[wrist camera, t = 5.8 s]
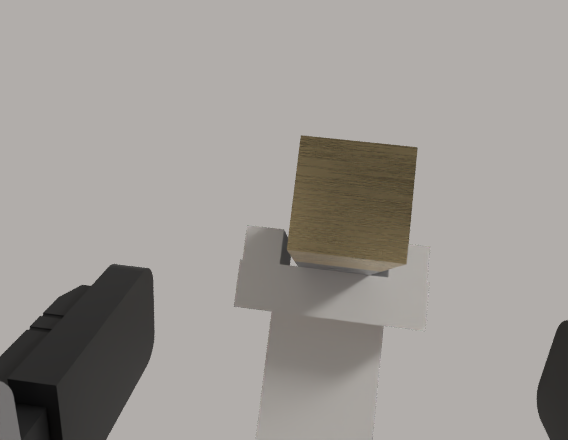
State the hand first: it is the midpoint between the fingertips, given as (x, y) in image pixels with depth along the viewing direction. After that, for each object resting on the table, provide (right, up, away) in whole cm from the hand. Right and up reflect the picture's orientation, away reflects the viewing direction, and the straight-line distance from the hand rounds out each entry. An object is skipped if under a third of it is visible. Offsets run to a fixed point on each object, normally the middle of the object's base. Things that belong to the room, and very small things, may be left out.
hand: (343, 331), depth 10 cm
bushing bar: (+1, 0, +14) cm, 14 cm away
